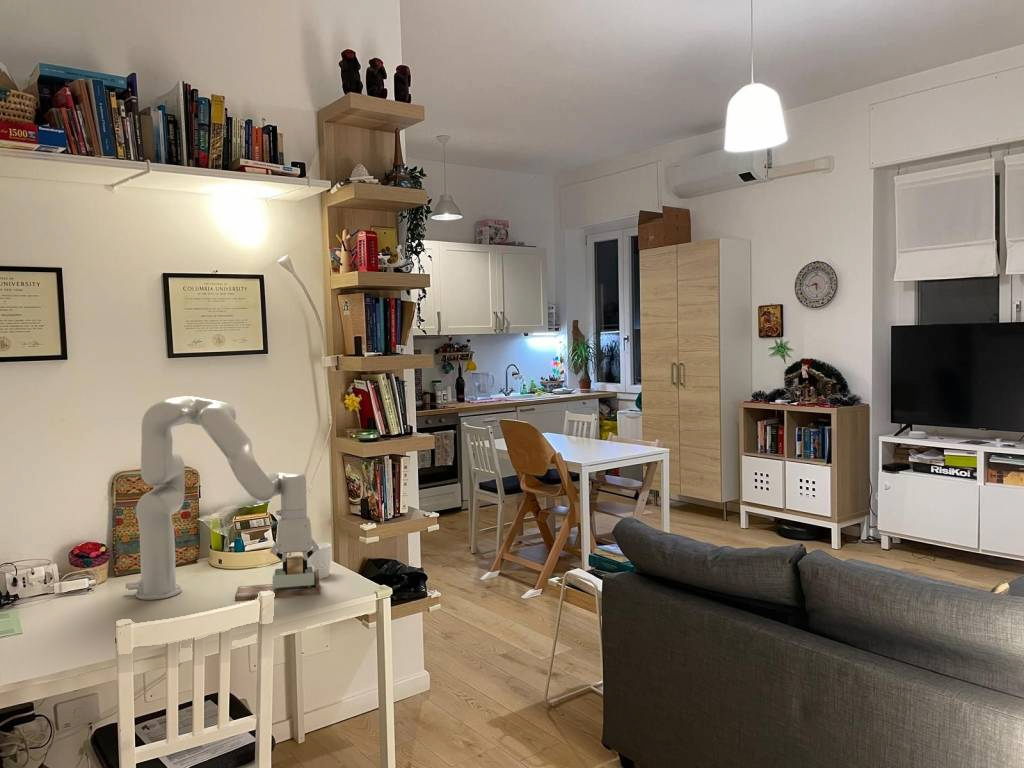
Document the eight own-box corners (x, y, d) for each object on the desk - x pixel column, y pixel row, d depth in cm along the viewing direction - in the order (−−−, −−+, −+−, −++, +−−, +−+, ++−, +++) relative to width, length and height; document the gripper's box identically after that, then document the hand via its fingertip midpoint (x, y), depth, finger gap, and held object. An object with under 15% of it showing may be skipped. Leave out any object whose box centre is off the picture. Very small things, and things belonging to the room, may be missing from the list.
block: (287, 576, 233) (287, 560, 232) (287, 572, 237) (287, 556, 237) (302, 575, 234) (302, 559, 234) (303, 571, 238) (302, 555, 238)
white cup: (325, 580, 246) (325, 549, 246) (302, 579, 248) (301, 548, 247) (335, 572, 254) (334, 542, 254) (312, 571, 256) (311, 542, 255)
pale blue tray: (272, 592, 230) (272, 576, 230) (274, 584, 238) (273, 568, 238) (314, 588, 233) (314, 573, 233) (314, 580, 241) (314, 565, 241)
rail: (235, 600, 227) (234, 584, 226) (238, 590, 236) (237, 574, 236) (319, 593, 233) (319, 578, 232) (319, 584, 242) (318, 569, 242)
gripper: (264, 518, 229) (265, 578, 230) (322, 514, 233) (323, 574, 234) (265, 512, 236) (267, 571, 237) (322, 509, 240) (323, 567, 241)
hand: (295, 572), depth 235 cm, fingers closed on block, 4 cm apart
